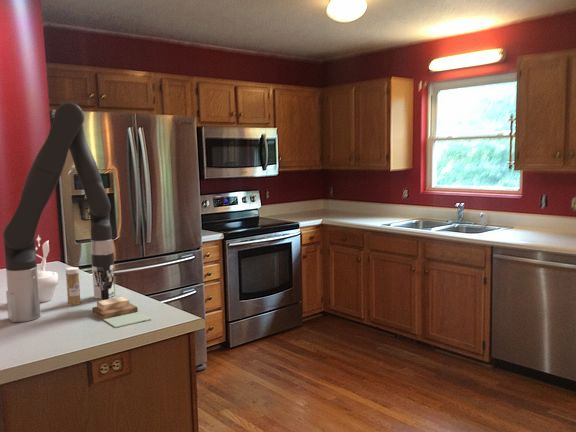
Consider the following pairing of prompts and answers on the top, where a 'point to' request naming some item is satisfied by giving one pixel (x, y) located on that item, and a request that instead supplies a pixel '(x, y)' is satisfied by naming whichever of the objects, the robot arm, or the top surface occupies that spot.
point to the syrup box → (97, 289)
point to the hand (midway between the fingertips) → (105, 299)
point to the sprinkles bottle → (73, 285)
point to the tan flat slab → (114, 311)
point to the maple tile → (112, 303)
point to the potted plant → (46, 276)
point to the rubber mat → (127, 319)
